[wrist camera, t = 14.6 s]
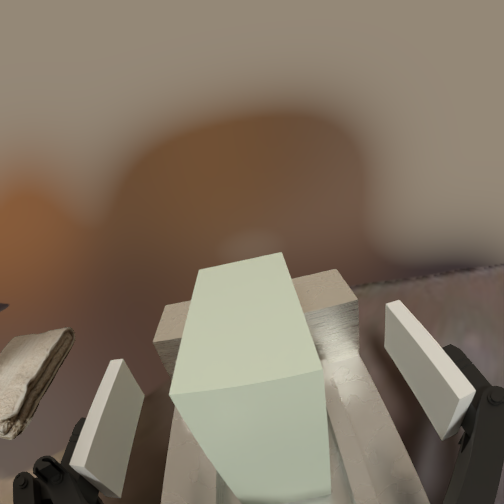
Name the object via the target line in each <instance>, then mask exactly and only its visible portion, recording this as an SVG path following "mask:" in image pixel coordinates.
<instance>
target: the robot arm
mask: <svg viewBox="0 0 504 504" xmlns="http://www.w3.org/2000/svg"><path fill="white" fill-rule="evenodd" d="M384 347H385V349H386V350H387V352H388V353H389V355H390V356H391V358H392V360H393V361H394V363H395V364H396V366H397V367H398V369H399V371H400V372H401V374H402V375H403V377H404V378H405V380H406V382H407V383H408V385H409V386H410V388H411V390H412V391H413V393H414V395H415V396H416V398H417V400H418V401H419V403H420V404H421V406H422V408H423V409H424V411H425V413H426V414H427V416H428V418H429V420H430V421H431V423H432V425H433V426H434V428H435V430H436V431H437V433H438V435H439V437H440V438H441V440H442V441H443V440H445V439H447V438H449V437H451V436H453V435H455V434H457V433H458V430H459V428H460V426H462V427H463V429H464V430H465V432H464V434H463V436H462V438H461V439H460V441H459V444H461V446H460V450H459V454H458V458H457V461H456V465H455V468H454V471H453V475H452V478H451V481H450V484H449V487H448V490H447V493H446V496H445V498H444V501H443V504H494V502H495V498H496V494H497V490H498V486H499V481H500V477H501V472H502V466H503V461H504V388H502V387H499V386H492V385H491V384H490V383H489V382H488V381H487V380H486V379H485V377H484V376H483V375H482V374H481V373H480V371H479V370H478V369H477V368H476V367H475V366H474V364H472V362H471V361H470V360H469V359H468V358H467V356H466V355H465V354H464V353H463V352H462V351H461V350H460V349H459V348H457V347H455V346H453V345H451V344H450V345H447V346H445V347H443V348H441V347H440V345H439V344H438V343H437V342H436V341H435V340H434V338H433V337H432V336H431V335H430V334H429V333H428V331H427V330H426V329H425V328H424V327H423V326H422V325H421V323H420V322H419V321H418V320H417V319H416V318H415V317H414V316H413V314H412V313H411V312H410V311H409V310H408V309H407V308H406V307H405V306H404V304H403V303H402V302H401V301H400V300H397V301H394V302H391V303H387V304H386V317H385V344H384ZM144 396H145V395H144V394H143V392H142V390H141V389H140V387H139V385H138V384H137V382H136V380H135V378H134V377H133V375H132V373H131V372H130V370H129V368H128V366H127V364H126V363H125V361H124V359H116V360H111V361H110V363H109V365H108V368H107V370H106V373H105V375H104V377H103V379H102V381H101V384H100V386H99V389H98V391H97V393H96V396H95V398H94V401H93V403H92V405H91V408H90V410H89V413H88V416H87V418H81V419H80V420H79V421H78V423H77V424H76V425H75V427H74V430H73V432H72V436H71V437H70V440H69V442H68V445H67V448H66V450H65V453H64V456H63V458H62V461H61V464H59V463H58V462H57V461H56V460H55V459H54V458H53V457H51V456H43V457H41V458H39V459H38V460H37V461H36V463H35V464H34V467H33V473H34V474H35V475H36V476H37V477H38V478H34V477H33V476H32V475H31V474H30V473H28V472H21V473H19V474H18V475H17V476H16V477H15V479H14V482H13V503H14V504H103V502H102V500H101V499H100V498H99V497H98V493H99V491H100V492H101V493H103V494H104V495H105V496H107V497H114V498H121V495H122V490H123V485H124V480H125V476H126V471H127V466H128V462H129V457H130V453H131V449H132V444H133V440H134V436H135V432H136V428H137V424H138V420H139V416H140V412H141V408H142V404H143V400H144Z"/></svg>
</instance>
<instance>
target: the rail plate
mask: <svg viewBox="0 0 504 504" xmlns="http://www.w3.org/2000/svg"><path fill="white" fill-rule="evenodd" d="M291 280H292V282H293V285H294V288H295V291H296V294H297V296H298V299H299V302H300V305H301V308H302V310H303V313H304V316H305V319H306V322H307V325H308V327H309V330H310V333H311V336H312V339H313V342H314V345H315V348H316V351H317V354H318V356H319V359H320V362H321V365H322V368H323V376H324V387H325V398H326V411H327V424H328V438H329V455H330V475H331V494H329V495H325V496H320V497H315V498H311V499H306V500H300V501H295V502H289V503H282V504H430V502H429V500H428V498H427V495H426V493H425V491H424V488H423V486H422V484H421V481H420V479H419V477H418V475H417V472H416V470H415V468H414V466H413V464H412V461H411V459H410V457H409V455H408V453H407V451H406V448H405V446H404V444H403V442H402V440H401V438H400V436H399V434H398V431H397V429H396V427H395V425H394V423H393V421H392V419H391V417H390V415H389V413H388V411H387V409H386V407H385V405H384V403H383V401H382V399H381V397H380V395H379V393H378V391H377V389H376V387H375V385H374V383H373V381H372V379H371V377H370V375H369V373H368V371H367V369H366V367H365V365H364V363H363V361H362V359H361V357H360V356H359V314H358V299H357V298H356V296H355V295H354V293H353V292H352V291H351V289H350V288H349V286H348V285H347V283H346V282H345V281H344V279H343V278H342V277H341V275H340V274H339V272H338V271H337V270H336V269H333V270H329V271H324V272H320V273H316V274H312V275H307V276H303V277H299V278H294V279H291ZM190 303H191V301H186V302H180V303H175V304H170V305H165V308H164V311H163V314H162V316H161V320H160V322H159V325H158V328H157V331H156V334H155V337H154V340H153V344H154V346H155V348H156V350H157V352H158V355H159V357H160V358H161V361H162V363H163V365H164V367H165V369H166V371H167V373H168V375H169V377H170V379H171V381H172V379H173V374H174V370H175V365H176V361H177V356H178V352H179V348H180V344H181V339H182V335H183V331H184V327H185V323H186V319H187V315H188V311H189V307H190ZM161 504H242V503H241V502H240V501H239V500H238V498H237V497H236V496H235V494H234V493H233V492H232V490H231V489H230V488H229V486H228V485H227V484H226V482H225V481H224V480H223V478H222V477H221V476H220V474H219V473H218V471H217V470H216V469H215V467H214V466H213V464H212V463H211V461H210V460H209V458H208V457H207V456H206V454H205V453H204V451H203V450H202V448H201V447H200V445H199V443H198V442H197V440H196V439H195V437H194V436H193V434H192V433H191V431H190V429H189V428H188V426H187V424H186V423H185V421H184V420H183V418H182V416H181V415H180V413H179V411H178V410H177V408H176V406H175V408H174V414H173V420H172V427H171V433H170V440H169V446H168V453H167V460H166V467H165V474H164V482H163V489H162V497H161Z"/></svg>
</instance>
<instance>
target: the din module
mask: <svg viewBox="0 0 504 504" xmlns="http://www.w3.org/2000/svg"><path fill="white" fill-rule="evenodd" d="M169 396H170V397H171V399H172V401H173V403H174V404H175V406H176V408H177V410H178V411H179V413H180V415H181V416H182V418H183V420H184V421H185V423H186V424H187V426H188V428H189V429H190V431H191V433H192V434H193V436H194V437H195V439H196V440H197V442H198V443H199V445H200V447H201V448H202V450H203V451H204V453H205V454H206V456H207V457H208V458H209V460H210V461H211V463H212V464H213V466H214V467H215V469H216V470H217V471H218V473H219V474H220V476H221V477H222V478H223V480H224V481H225V482H226V484H227V485H228V486H229V488H230V489H231V490H232V492H233V493H234V494H235V496H236V497H237V498H238V500H239V501H240V502H241V503H242V504H282V503H289V502H295V501H300V500H306V499H311V498H315V497H320V496H325V495H329V494H331V475H330V455H329V438H328V424H327V411H326V398H325V387H324V376H323V368H322V365H321V362H320V359H319V356H318V354H317V351H316V348H315V345H314V342H313V339H312V336H311V333H310V330H309V327H308V325H307V322H306V319H305V316H304V313H303V310H302V308H301V305H300V302H299V299H298V296H297V294H296V291H295V288H294V285H293V282H292V280H291V277H290V274H289V271H288V269H287V266H286V263H285V260H284V258H283V255H282V253H281V252H280V253H275V254H271V255H266V256H261V257H257V258H252V259H248V260H243V261H238V262H234V263H229V264H224V265H219V266H215V267H210V268H205V269H200V270H199V272H198V276H197V280H196V284H195V287H194V291H193V295H192V299H191V303H190V307H189V311H188V315H187V319H186V323H185V327H184V331H183V335H182V339H181V344H180V348H179V352H178V356H177V361H176V365H175V370H174V374H173V379H172V383H171V388H170V392H169Z"/></svg>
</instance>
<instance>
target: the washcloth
mask: <svg viewBox="0 0 504 504" xmlns="http://www.w3.org/2000/svg"><path fill="white" fill-rule="evenodd" d="M74 341H75V333H74V330H73V329H72V328H70V327H68V328H67V327H65V328H62V329H55V330H49V331H47V332H45V333H41V334H29V335H22V336H17V337H14V338H13V339H12V340H11V341H10V342H9V343H8V344H7V345H6V346H5V348H4V349H3V350H2V352H1V353H0V438H4V439H9V440H13V439H14V438H16V436H18V435H20V434H22V432H23V431H24V430H25V429H26V428H27V426H28V425H29V424H30V422H31V420H32V418H33V416H34V413H35V412H36V410H37V407H38V405H39V402H40V400H41V399H42V397H43V396H44V394H45V393H46V392H47V390H48V388H49V386H50V385H51V383H52V381H53V380H54V378H55V376H56V374H57V372H58V370H59V368H60V367H61V365H62V364H63V362H64V360H65V359H66V357H67V356H68V354H69V352H70V350H71V348H72V346H73V344H74Z"/></svg>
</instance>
